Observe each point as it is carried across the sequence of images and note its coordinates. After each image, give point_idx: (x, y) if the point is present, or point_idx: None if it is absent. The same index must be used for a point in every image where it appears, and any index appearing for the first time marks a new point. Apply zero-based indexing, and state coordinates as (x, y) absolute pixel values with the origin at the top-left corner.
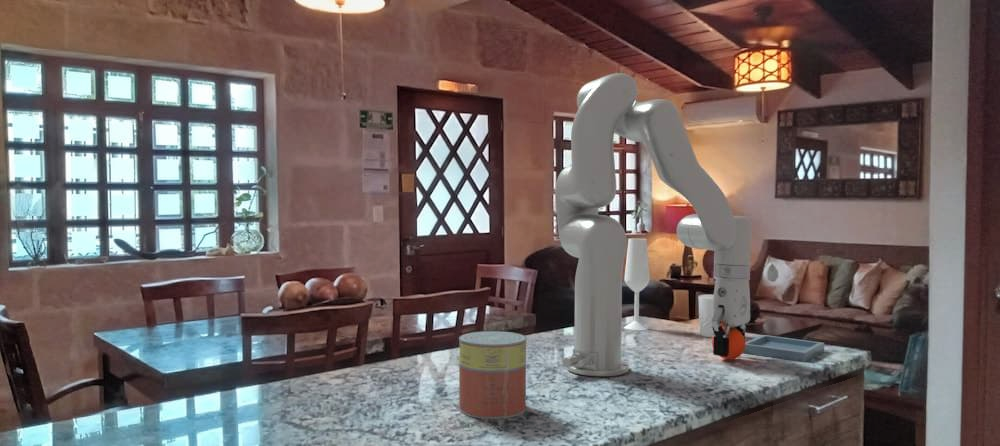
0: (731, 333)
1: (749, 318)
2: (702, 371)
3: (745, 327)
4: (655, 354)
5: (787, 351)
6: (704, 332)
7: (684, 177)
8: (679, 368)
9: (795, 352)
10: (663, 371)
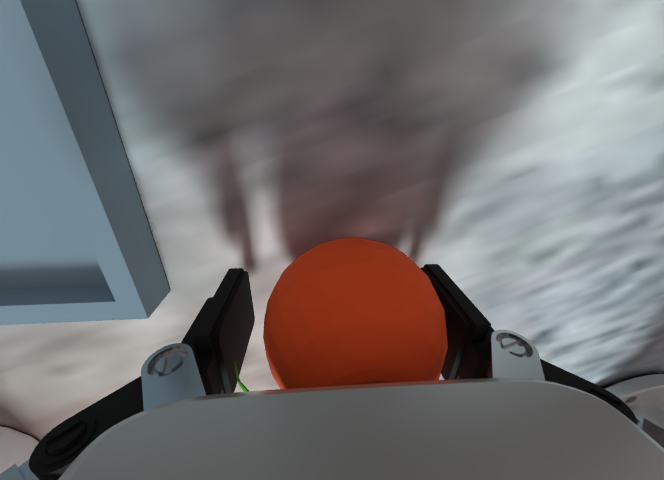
0: (431, 350)
1: (118, 452)
2: (562, 265)
3: (141, 375)
4: None
5: (34, 21)
6: None
7: None
8: (543, 324)
9: None
10: (594, 335)
